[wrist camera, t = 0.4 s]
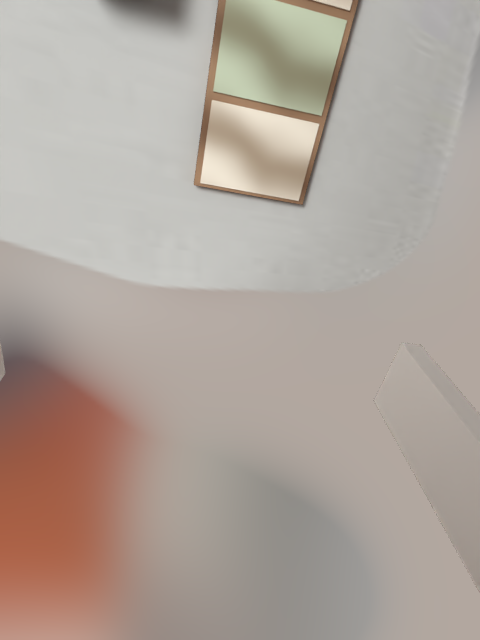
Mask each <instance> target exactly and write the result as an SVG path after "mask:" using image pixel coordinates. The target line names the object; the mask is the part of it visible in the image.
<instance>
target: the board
mask: <svg viewBox="0 0 480 640" xmlns="http://www.w3.org/2000/svg"><path fill="white" fill-rule="evenodd" d="M358 1H359V0H218V8H217V15H216V23H215V30H214V37H213V45H212V52H211V60H210V67H209V75H208V82H207V90H206V97H205V104H204V112H203V119H202V127H201V134H200V142H199V149H198V157H197V164H196V171H195V179H194V185H197V186H202V187H208V188H213V189H219V190H224V191H230V192H235V193H241V194H246V195H252V196H257V197H263V198H268V199H274V200H279V201H285V202H290V203H296V204H301V205H302V204H303V201H304V197H305V193H306V190H307V186H308V183H309V179H310V175H311V172H312V168H313V164H314V161H315V157H316V153H317V150H318V146H319V142H320V139H321V135H322V132H323V128H324V124H325V121H326V117H327V113H328V110H329V106H330V102H331V99H332V95H333V92H334V88H335V84H336V81H337V77H338V73H339V70H340V66H341V62H342V59H343V55H344V52H345V48H346V44H347V41H348V37H349V33H350V30H351V26H352V22H353V19H354V15H355V12H356V8H357V4H358Z"/></svg>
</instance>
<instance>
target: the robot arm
mask: <svg viewBox="0 0 480 640" xmlns="http://www.w3.org/2000/svg"><path fill="white" fill-rule="evenodd" d="M4 374H5V369H4V362H3V355H2V349H1V342H0V381H1V379H2V377H3V376H4ZM374 402H375V404H376V406H377V408H378V410H379V411H380V413H381V415H382V417H383V419H384V421H385V422H386V424H387V426H388V428H389V430H390V431H391V433H392V435H393V437H394V439H395V440H396V442H397V444H398V446H399V447H400V449H401V451H402V453H403V455H404V457H405V458H406V460H407V462H408V464H409V466H410V468H411V469H412V471H413V473H414V475H415V477H416V479H417V480H418V482H419V484H420V486H421V488H422V489H423V491H424V493H425V495H426V496H427V498H428V500H429V502H430V504H431V506H432V508H433V509H434V511H435V513H436V515H437V517H438V518H439V520H440V522H441V524H442V526H443V527H444V529H445V531H446V533H447V535H448V537H449V538H450V540H451V542H452V544H453V546H454V547H455V549H456V551H457V553H458V555H459V556H460V558H461V560H462V562H463V564H464V565H465V567H466V569H467V571H468V573H469V575H470V576H471V578H472V580H473V582H474V584H475V585H476V587H477V589H478V591H479V592H480V414H479V413H478V412H477V411H476V409H475V408H474V407H473V406H472V404H471V403H470V402H469V401H468V400H467V399H466V397H465V396H464V395H463V394H462V393H461V391H460V390H459V389H458V388H457V387H456V386H455V384H454V383H453V382H452V381H451V380H450V378H449V377H448V376H447V375H446V374H445V373H444V371H443V370H442V369H441V368H440V367H439V365H438V364H437V363H436V362H435V361H434V360H433V358H432V357H431V356H430V355H429V354H428V353H427V351H426V350H425V349H424V348H423V346H422V345H417V344H409V343H401V345H400V347H399V349H398V351H397V353H396V355H395V357H394V359H393V361H392V364H391V366H390V368H389V370H388V372H387V374H386V376H385V378H384V380H383V383H382V385H381V387H380V389H379V391H378V393H377V395H376V397H375V399H374Z"/></svg>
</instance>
